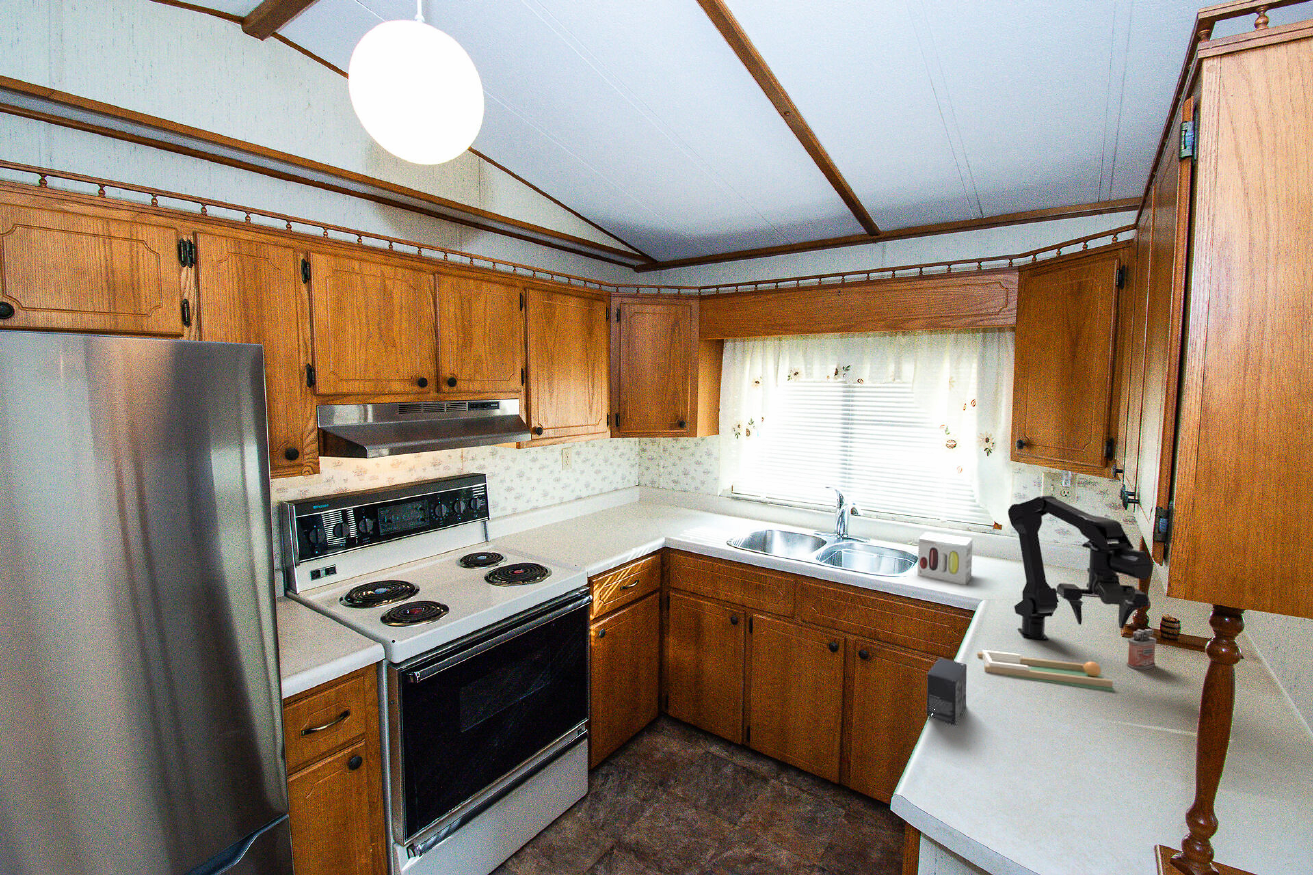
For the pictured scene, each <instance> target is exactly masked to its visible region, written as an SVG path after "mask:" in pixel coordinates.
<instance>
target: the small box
mask: <svg viewBox="0 0 1313 875" xmlns="http://www.w3.org/2000/svg"><path fill="white" fill-rule="evenodd" d="M967 667H968V664H967V663H963V662H958V661H953V660H950V659H945V658H942V657H938V659H937V660H935V663H934V664H933V665H932V667H931V668H930V669H929V671H928V672H927V676H926V682H927V683H926V686H927V687H926V716H928V717H930V718H932V719H936V720H938V721H941V722H944V723H947V724H949V723H951V724H950V725H952V724H954V725H953V726H955V725H956V726H957V724H958V723H959V721H960V719H961V717H962V715H963V714H962V712H963V710H964V709H966V708H967V674H968V673H967V671H968V670H967ZM965 707H966V708H965ZM934 709H935V710H934ZM964 711H965V710H964ZM932 713H933V715H932V717H931V714H932ZM963 713H964V712H963ZM961 714H962V715H961ZM960 716H961V717H960ZM959 718H960V719H959ZM958 720H959V721H958ZM957 722H958V723H957ZM956 723H957V724H956Z"/></svg>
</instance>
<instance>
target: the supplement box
mask: <svg viewBox="0 0 1313 875" xmlns="http://www.w3.org/2000/svg"><path fill="white" fill-rule="evenodd" d="M973 540H974V539H973V537H968V536H958V535H953V534H952V535H951V534H943V533H936V532H929V531H925V533H923V534H921V536H920V537H919V538H918V549H917V550H918V554H917V576H919V577H925V578H929V579H934V580H938V581H943V582H944V581H945V582H949V583H953V584H954V583H955V584H959V585H964V586H965V585H967V583H968V582H969V581H970V580H971V578H972V567H973V565H972V564H973V543H974V542H973Z"/></svg>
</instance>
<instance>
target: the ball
mask: <svg viewBox="0 0 1313 875" xmlns="http://www.w3.org/2000/svg"><path fill="white" fill-rule="evenodd" d="M1083 664H1084V667H1083V668H1084V671H1085V672H1086V674H1088V675H1089V676H1093V677H1095V676H1098V675H1101V672H1102V668H1101V667H1100V665H1099V664H1098V663H1097V662H1095V661H1087V662H1085V663H1083Z"/></svg>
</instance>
